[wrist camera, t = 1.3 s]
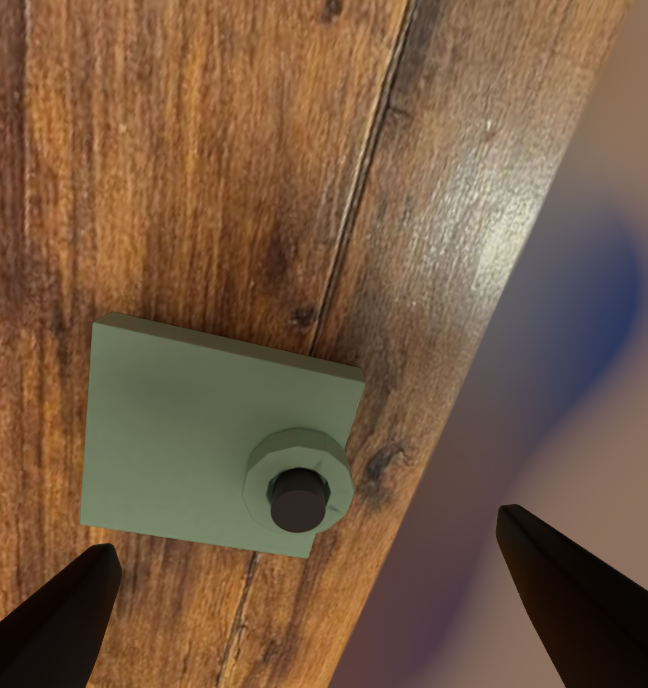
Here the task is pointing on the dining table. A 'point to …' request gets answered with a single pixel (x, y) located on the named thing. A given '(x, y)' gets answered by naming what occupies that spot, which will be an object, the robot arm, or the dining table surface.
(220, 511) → the scale
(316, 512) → the button
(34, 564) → the dining table surface
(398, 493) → the dining table surface
